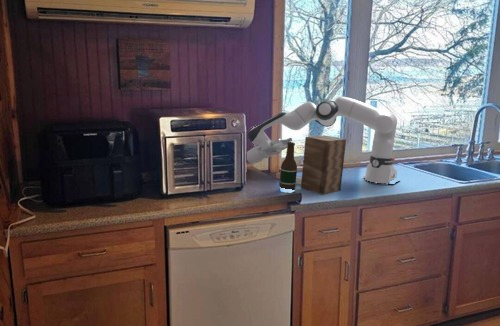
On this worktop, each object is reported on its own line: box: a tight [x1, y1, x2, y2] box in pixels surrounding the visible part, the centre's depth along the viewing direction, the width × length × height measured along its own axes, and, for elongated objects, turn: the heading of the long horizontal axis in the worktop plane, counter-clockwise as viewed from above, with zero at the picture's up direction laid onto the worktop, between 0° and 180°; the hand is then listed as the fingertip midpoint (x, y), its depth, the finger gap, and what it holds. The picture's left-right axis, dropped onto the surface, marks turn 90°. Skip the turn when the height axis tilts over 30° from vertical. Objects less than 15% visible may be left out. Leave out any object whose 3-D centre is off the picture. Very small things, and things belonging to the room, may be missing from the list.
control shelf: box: [300, 134, 347, 195], centre depth 227 cm, size 16×13×26 cm
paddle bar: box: [275, 171, 302, 186], centre depth 241 cm, size 2×20×3 cm, turn 46°
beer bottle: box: [278, 141, 298, 191], centre depth 218 cm, size 8×8×24 cm
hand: (285, 139), depth 242 cm, fingers open, 8 cm apart
